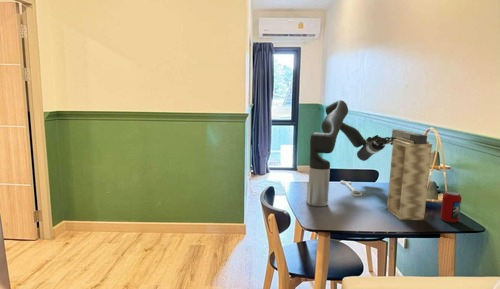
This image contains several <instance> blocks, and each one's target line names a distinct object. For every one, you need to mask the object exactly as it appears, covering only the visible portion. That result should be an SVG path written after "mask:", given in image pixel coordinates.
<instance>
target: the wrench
mask: <svg viewBox="0 0 500 289" xmlns="http://www.w3.org/2000/svg"><path fill="white" fill-rule="evenodd" d="M340 184H341V185H345V187H347V188H348V189H349V190H350V191H351V192H350V195H351V196H354V197H361V196H363V192H361V191H359V190H356V188H355V187H353V186H352V185H351V184H352V182H351V181H345V180H340Z"/></svg>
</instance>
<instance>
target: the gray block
mask: <svg viewBox="0 0 500 289" xmlns="http://www.w3.org/2000/svg"><path fill="white" fill-rule="evenodd" d="M391 137H394V138H396V137H400V138H404V139H407V140H410V141H414V144H426V143H427V140H428V135H426V134H421V133H416V132H412V131H408V130H403V129H398V128H392V130H391Z"/></svg>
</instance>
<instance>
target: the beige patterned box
mask: <svg viewBox="0 0 500 289" xmlns="http://www.w3.org/2000/svg"><path fill="white" fill-rule="evenodd" d="M432 150H433V144H432V143H430V141H427V143H426V144H414V141H410V140H407V139H404V138H400V137H396V139H393V145H392V148H391V161H390V169H389V170H390V171H389V179H388V180H389V182H388V192H387V201H386V204H387V205H386V210H387V211H388V212H389V213H391V214H392V215H393V216H394V217H396V218H397V219H399V220H400V221H424V220H425V213H426V202H427V196H428V195H427V194H428V187H429V186H428V184H429V176H430V167H431V166H430V165H431V158H432Z"/></svg>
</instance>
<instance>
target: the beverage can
mask: <svg viewBox="0 0 500 289" xmlns="http://www.w3.org/2000/svg"><path fill="white" fill-rule="evenodd" d="M441 200H442V201H441V206H440V208H441V209H440V219H441V220H443V221H444V222H447V223H456V222H459V220H460V214H461V206H462V196H461V193H460V192H458V191H455V190H454V191H452V190H445V191H444V193H443V194H442V199H441Z"/></svg>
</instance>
